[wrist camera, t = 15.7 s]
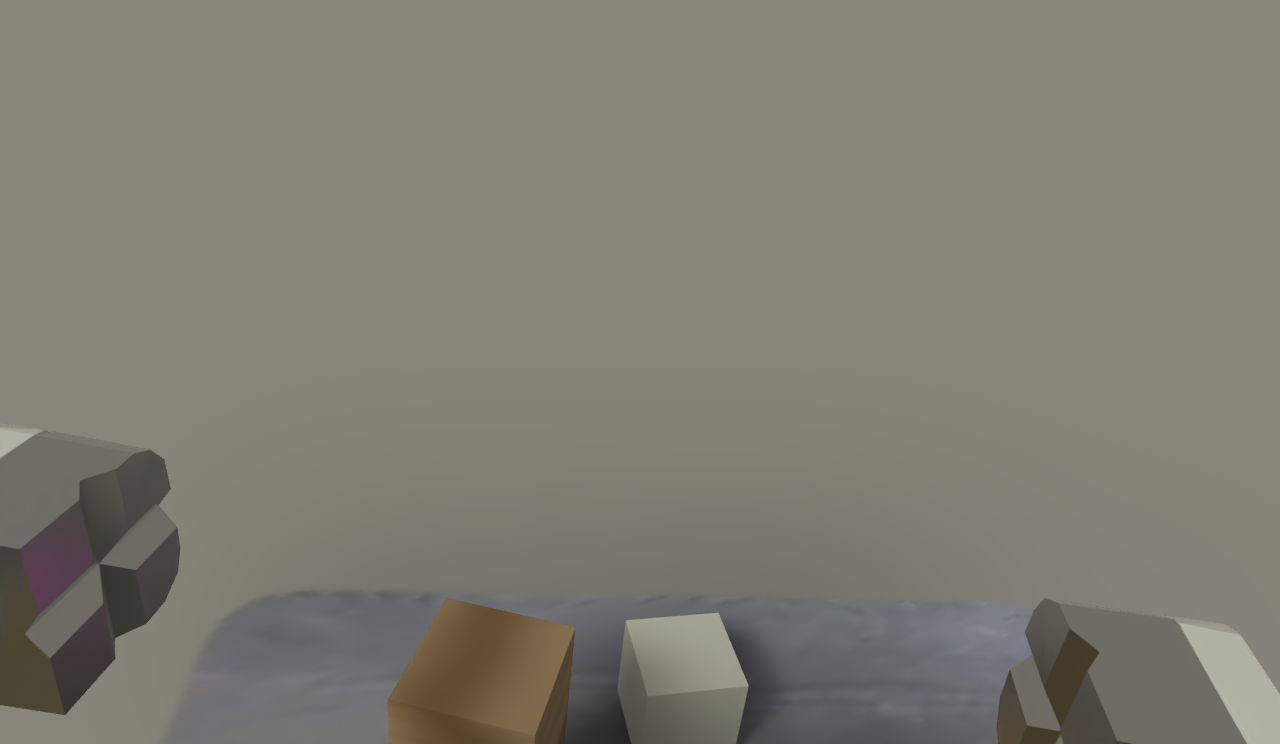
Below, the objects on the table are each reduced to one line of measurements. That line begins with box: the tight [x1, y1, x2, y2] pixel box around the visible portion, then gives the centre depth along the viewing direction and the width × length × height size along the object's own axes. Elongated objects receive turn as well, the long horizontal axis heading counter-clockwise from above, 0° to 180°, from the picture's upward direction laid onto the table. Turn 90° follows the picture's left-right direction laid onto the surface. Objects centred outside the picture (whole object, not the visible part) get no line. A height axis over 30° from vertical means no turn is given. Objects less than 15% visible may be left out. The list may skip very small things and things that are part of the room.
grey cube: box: [617, 613, 749, 744], centre depth 46 cm, size 5×5×5 cm
